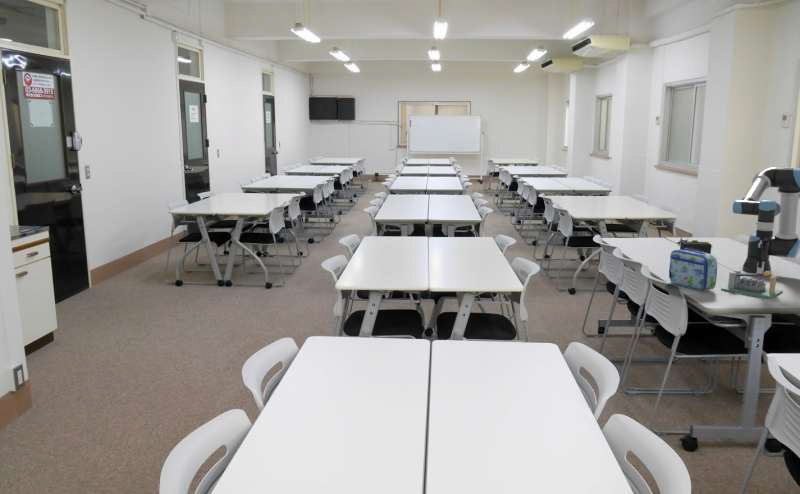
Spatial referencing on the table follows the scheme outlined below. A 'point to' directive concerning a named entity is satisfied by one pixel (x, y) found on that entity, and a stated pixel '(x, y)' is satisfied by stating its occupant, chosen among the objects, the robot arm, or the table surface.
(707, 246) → the router
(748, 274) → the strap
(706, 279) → the lunch box
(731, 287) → the board
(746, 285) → the heatsink
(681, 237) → the molecular model
